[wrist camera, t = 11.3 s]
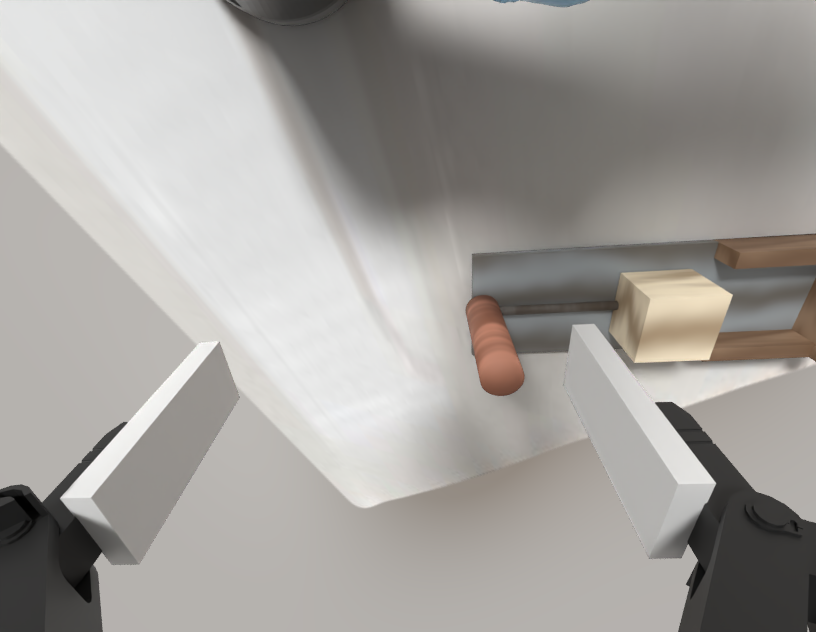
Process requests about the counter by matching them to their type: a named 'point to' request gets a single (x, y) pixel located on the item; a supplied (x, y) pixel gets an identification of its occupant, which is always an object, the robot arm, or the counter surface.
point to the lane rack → (714, 259)
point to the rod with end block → (612, 323)
